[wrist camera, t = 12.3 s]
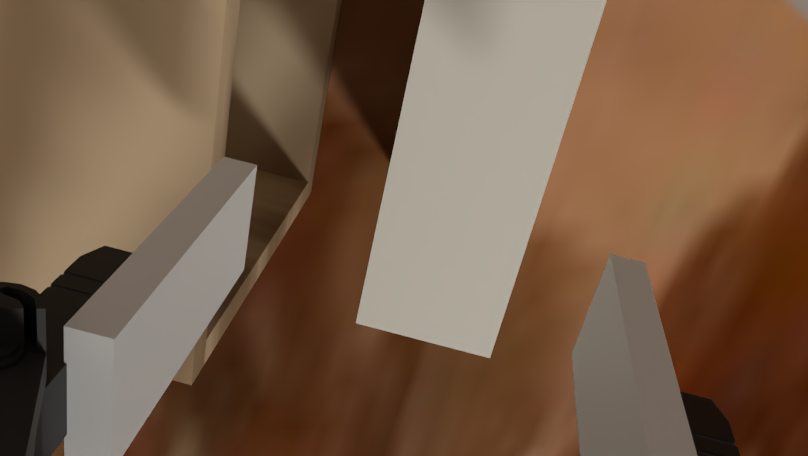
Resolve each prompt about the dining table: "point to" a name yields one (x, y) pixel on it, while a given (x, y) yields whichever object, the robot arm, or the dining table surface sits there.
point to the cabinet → (153, 125)
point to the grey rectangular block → (472, 163)
